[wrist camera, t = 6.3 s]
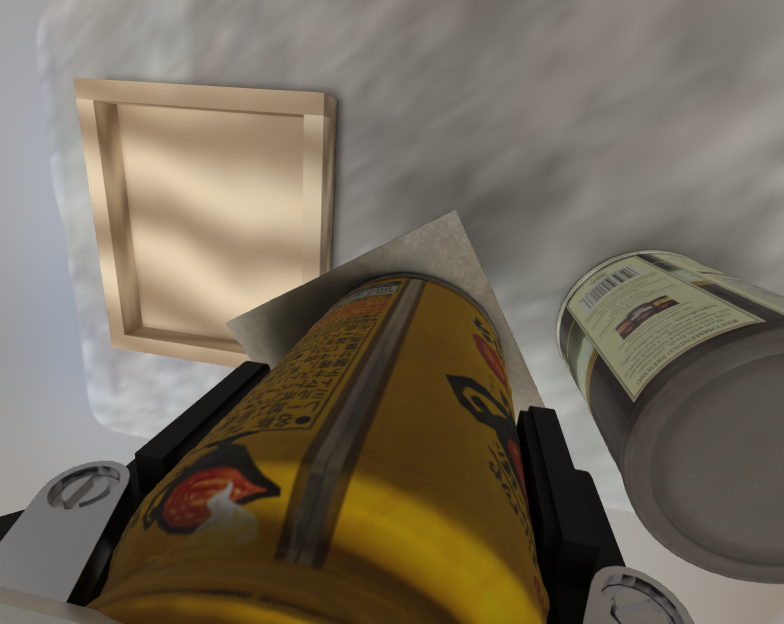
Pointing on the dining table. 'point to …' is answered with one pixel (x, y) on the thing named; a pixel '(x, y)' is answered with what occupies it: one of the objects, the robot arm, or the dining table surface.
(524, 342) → the dining table surface
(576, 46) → the dining table surface
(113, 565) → the condiment
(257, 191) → the tray
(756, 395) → the coffee can
